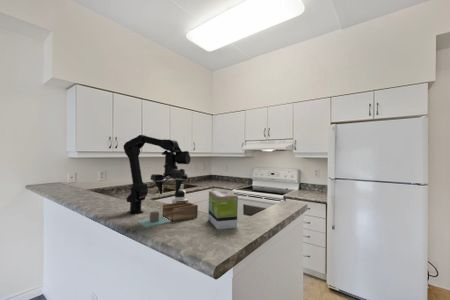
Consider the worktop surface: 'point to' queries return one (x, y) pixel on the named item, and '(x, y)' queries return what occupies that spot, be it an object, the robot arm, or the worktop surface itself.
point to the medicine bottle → (180, 197)
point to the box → (180, 211)
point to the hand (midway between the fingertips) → (169, 193)
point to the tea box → (223, 209)
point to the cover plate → (148, 224)
